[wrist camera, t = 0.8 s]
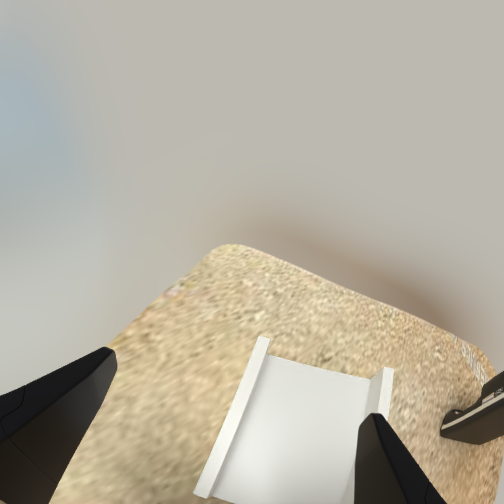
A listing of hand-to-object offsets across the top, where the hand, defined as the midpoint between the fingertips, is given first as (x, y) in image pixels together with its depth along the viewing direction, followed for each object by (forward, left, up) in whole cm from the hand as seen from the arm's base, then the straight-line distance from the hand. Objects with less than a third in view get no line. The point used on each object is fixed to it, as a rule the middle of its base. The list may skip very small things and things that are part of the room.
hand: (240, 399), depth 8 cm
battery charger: (-12, -19, -16) cm, 28 cm away
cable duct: (-2, -4, -16) cm, 16 cm away
